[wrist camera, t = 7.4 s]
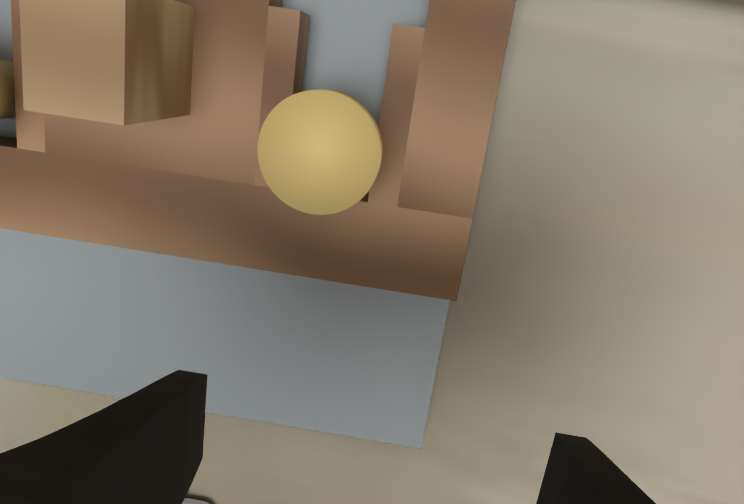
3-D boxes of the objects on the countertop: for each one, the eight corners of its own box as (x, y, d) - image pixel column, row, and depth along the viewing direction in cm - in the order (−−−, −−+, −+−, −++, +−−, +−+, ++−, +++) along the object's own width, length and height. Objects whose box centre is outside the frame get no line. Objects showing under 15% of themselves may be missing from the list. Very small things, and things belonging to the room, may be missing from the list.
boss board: (421, 430, 23) (421, 527, 18) (-63, 348, 24) (-191, 421, 19) (547, -231, 16) (602, -364, 11) (-125, -315, 17) (-348, -475, 12)
